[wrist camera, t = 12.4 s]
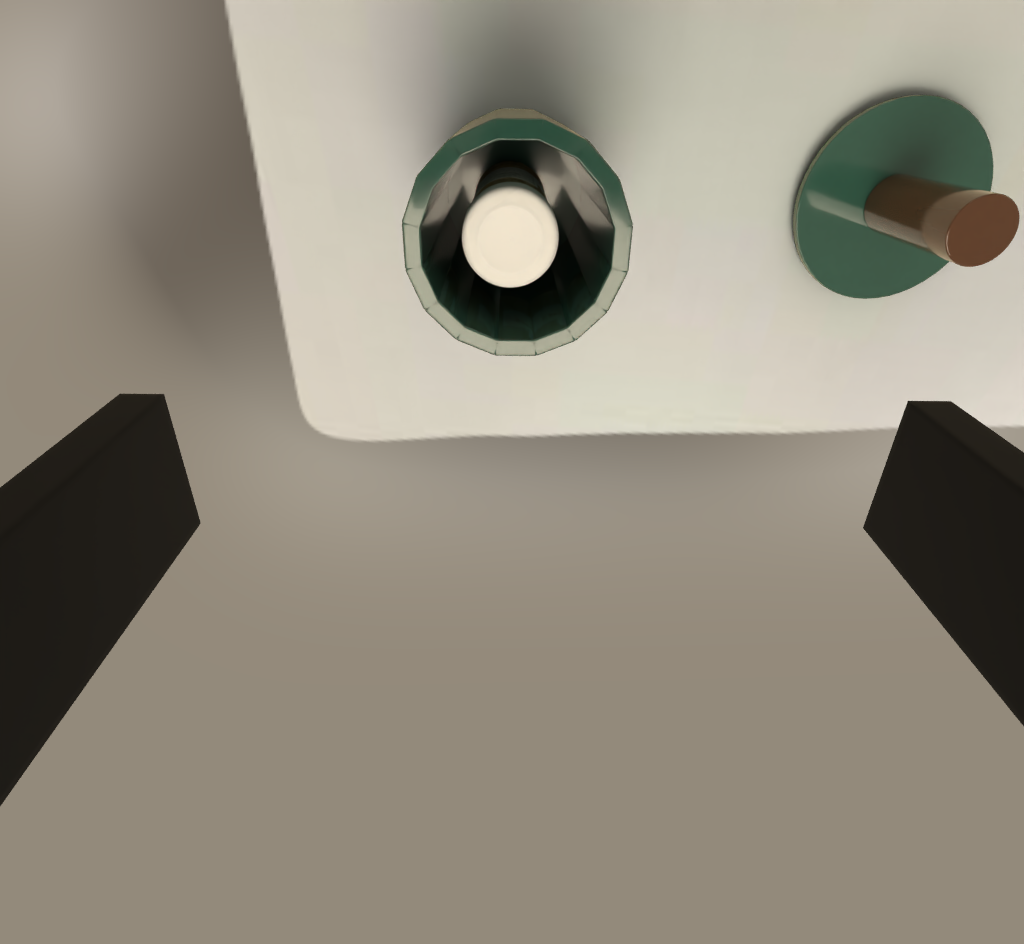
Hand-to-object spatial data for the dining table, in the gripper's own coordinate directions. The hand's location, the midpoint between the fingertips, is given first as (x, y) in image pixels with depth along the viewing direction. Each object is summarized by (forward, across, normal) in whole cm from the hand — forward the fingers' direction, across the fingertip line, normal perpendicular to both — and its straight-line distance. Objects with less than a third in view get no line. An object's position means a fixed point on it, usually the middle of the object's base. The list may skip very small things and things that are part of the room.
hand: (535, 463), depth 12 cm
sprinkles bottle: (+34, 0, 0) cm, 34 cm away
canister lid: (+34, +24, 0) cm, 42 cm away
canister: (+35, 0, 0) cm, 35 cm away
